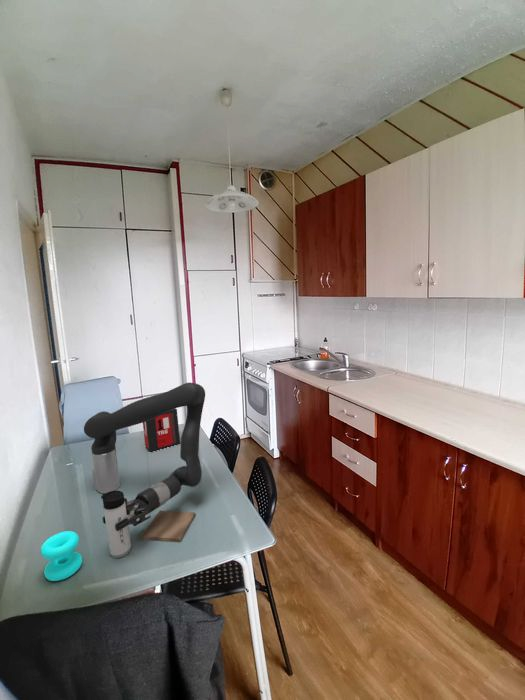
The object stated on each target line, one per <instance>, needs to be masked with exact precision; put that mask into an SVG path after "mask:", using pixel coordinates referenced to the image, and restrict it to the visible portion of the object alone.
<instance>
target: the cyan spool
mask: <svg viewBox="0 0 525 700" xmlns="http://www.w3.org/2000/svg"><path fill="white" fill-rule="evenodd" d="M79 542H80V537H79V534H78V533H76V532H75V531H71V530H66V531H61V532H58V533H55V534H54V535H52V536H50V537H48V539H46V540H45V542H43V544H42V545H41V548H40V555H41V557H42V558H44V559H45V560H49V561H48V563H47V564H46V566H45V568H44V572H43V575H44V577H45V578H46V579H47V580H48V581H50V582H51V581H53V582H57V581H63V580H65V579H68V578H69V577H71V576H73V575H74V574H75V573H77V571H78V570H79V569H80V568H81V566H82V563H83V556H82V555H81V554H80V552H78V551H76V550H75V549H76V548H77V546H78V545H79ZM74 550H75V551H74Z"/></svg>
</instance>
